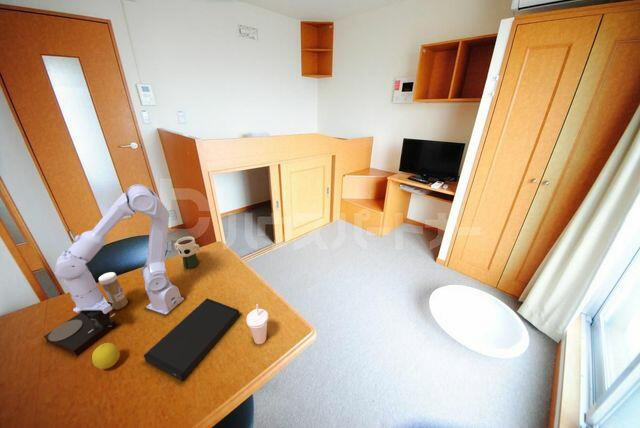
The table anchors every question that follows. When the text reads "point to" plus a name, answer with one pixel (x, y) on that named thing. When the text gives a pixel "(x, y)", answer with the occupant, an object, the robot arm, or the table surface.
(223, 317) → the external hard drive
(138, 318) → the table surface
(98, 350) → the lemon
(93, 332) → the hob
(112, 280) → the sprinkles bottle
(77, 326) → the burner
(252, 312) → the smoothie
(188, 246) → the character mug
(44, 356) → the table surface
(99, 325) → the cupcake
